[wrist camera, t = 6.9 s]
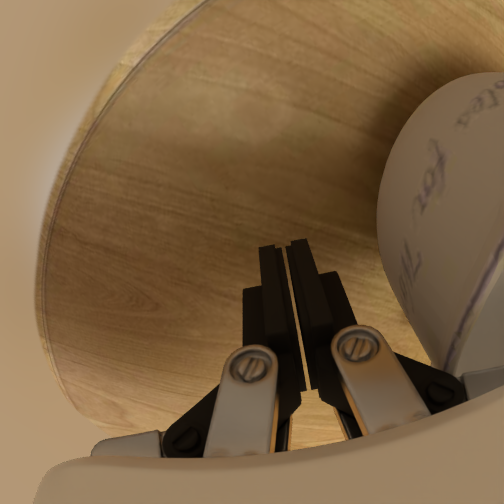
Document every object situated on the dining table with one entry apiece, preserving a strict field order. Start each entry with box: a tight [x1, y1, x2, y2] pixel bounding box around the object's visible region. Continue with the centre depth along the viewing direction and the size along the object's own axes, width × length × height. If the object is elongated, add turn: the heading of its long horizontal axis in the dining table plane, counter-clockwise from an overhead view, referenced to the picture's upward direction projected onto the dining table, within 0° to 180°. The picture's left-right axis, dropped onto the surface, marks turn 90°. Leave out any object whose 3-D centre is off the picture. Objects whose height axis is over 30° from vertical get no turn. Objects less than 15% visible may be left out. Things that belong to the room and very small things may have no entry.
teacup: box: [377, 72, 504, 377], centre depth 9 cm, size 14×11×8 cm
